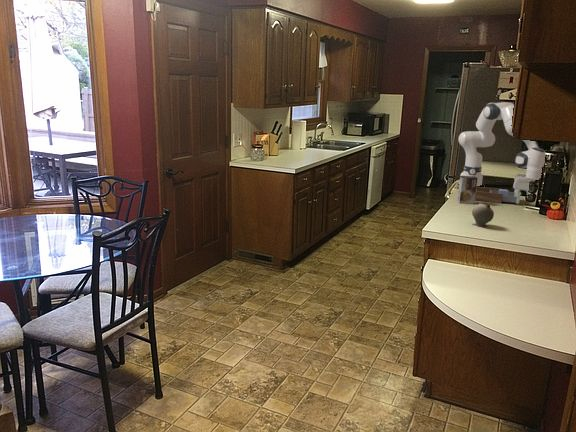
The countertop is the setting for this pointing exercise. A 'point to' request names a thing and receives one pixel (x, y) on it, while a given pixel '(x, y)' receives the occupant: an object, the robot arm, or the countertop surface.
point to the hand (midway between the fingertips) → (529, 198)
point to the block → (503, 192)
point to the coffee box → (467, 189)
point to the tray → (510, 196)
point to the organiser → (487, 195)
